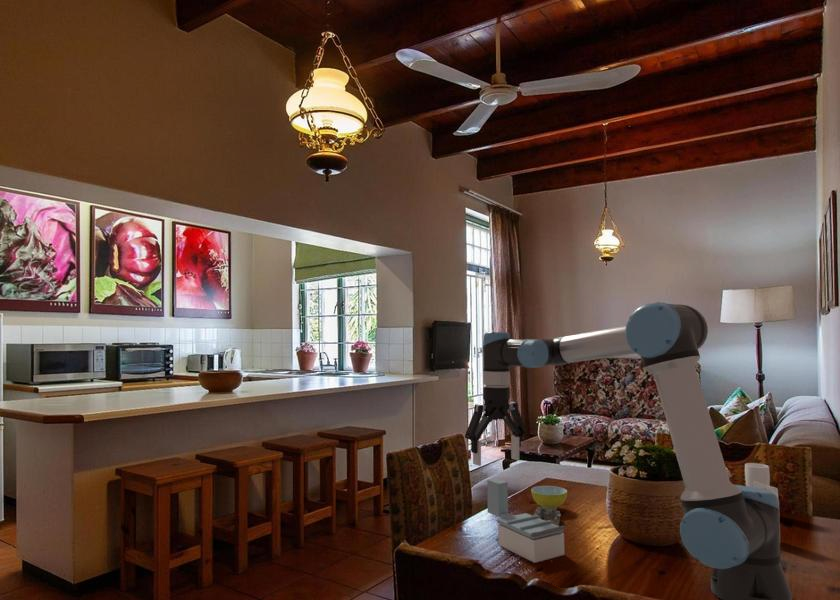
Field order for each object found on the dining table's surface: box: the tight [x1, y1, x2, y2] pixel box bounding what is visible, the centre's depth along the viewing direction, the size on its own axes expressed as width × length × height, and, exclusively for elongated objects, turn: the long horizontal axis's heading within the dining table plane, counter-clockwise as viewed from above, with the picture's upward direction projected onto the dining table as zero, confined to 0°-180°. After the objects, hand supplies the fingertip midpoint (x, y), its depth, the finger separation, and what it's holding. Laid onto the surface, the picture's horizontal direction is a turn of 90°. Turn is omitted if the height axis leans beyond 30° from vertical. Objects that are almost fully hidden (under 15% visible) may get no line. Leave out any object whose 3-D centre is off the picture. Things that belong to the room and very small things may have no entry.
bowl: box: [530, 485, 568, 512], centre depth 185 cm, size 11×12×6 cm
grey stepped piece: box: [486, 477, 566, 539], centre depth 152 cm, size 23×11×9 cm, turn 31°
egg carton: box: [532, 506, 562, 526], centre depth 171 cm, size 11×8×4 cm
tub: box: [497, 523, 565, 563], centre depth 148 cm, size 14×10×6 cm
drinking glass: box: [744, 462, 771, 491], centre depth 181 cm, size 7×7×15 cm
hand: (496, 462), depth 161 cm, fingers open, 13 cm apart
